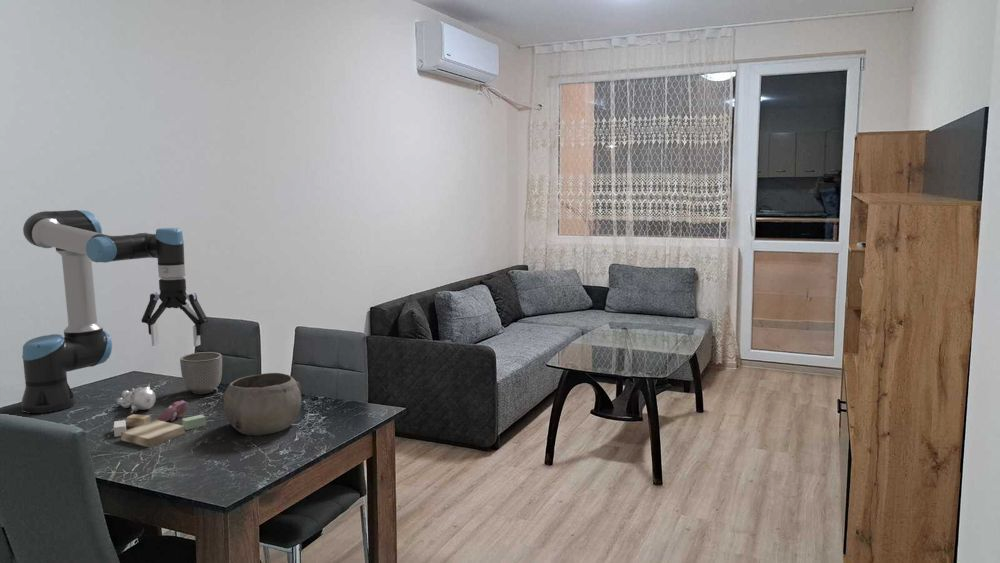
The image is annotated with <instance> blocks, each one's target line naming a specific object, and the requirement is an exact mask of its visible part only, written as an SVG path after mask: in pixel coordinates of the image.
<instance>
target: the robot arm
mask: <svg viewBox="0 0 1000 563" xmlns="http://www.w3.org/2000/svg"><path fill="white" fill-rule="evenodd" d="M24 222H25V223H24V224H23V228H22V231H23V235H24V238H25V239H26V241H27V242H28V243H30V244H31V245H33V246H35V247H39V248H43V249H51V248H55V252H56V253H58V254H59V255H60V256H61V262H62V263H61V264H62V271H63V272H62V273H63V282H64V292H65V293H64V294H65V302H66V313H67V324H68V325H67V326H66V328H64V329H63V335H62V334H57V333H56V334H54V333H53V334H47V335H41V336H37V337H34V338H31V339H29V340H28V341H26V342H25V343H24V344H23V345H22V355H21V356H22V363H23V370H24V373H23V374H24V382H25V388H24V391H23V392H24V393H23V395H22V398H21V402H20V410H23V411H26V412H29V413H41V414H43V413H42V412H50V411H55V412H59V411H58V410H60V411H63V410H62V409H64V410H66V408H67V409H69V408H71V407H73V406H74V405H76V404H75V403H76V401H75V400H76V398H75V394H73V391H72V389H71V387H70V385H69V383H68V377H67V373H68V372H72V371H76V370H80V369H85V368H89V367H95V366H97V365H100V364H103V363H105V362H107V360H108V359H110V356H111V354H112V351H113V350H112V349H113V341H112V338H111V337H110V334H109V333H108V332H107V331H105V330H103V329H104V328H103V327H104V326H102V325H101V324H100V323H98V318H97V317H98V315H97V307H96V306H97V305H96V294H95V288H94V287H95V284H94V274H93V272H94V271H93V265H92V262H93V263H110V262H111V263H112V262H117V261H118V262H119V261H129V260H138V259H139V260H140V259H148V258H149V259H157V270H158V277H159V278H160V279H159V280H158V285H159V286H158V287H159V288H158V289H159V293H158V292H154V293H150V294H149V301H148V304H147V306H146V309H145V311H144V313H143V316H142V319H141V323H144V324H147V327H148V330H147V331H148V335H150V338H151V346H157V345H159V344H160V340H159V339H160V338H159V324H158V323H157V320H159V318H160V317H161V315H162V314H163V313H164V311H166V309H180V310H181V311H183V313H184V314H185V315H186V316H187V317H188V318H189V319H190V320H191V322H193V324H194V325H193V326H192V336H193V347H198V346H201V344H202V343H201V336H202V335H203V325H204V324H206V323H208V322H209V319H208V318H207V315H206V313H205V311H204V310H203V308H202V306H201V304H200V302H199V301H198V296H197V294H196V293H195V292H194V293H190V294H187V292H186V291H187V283H186V282H187V281H186V280H187V279H186V278H185V277H186V266H185V247H184V246H185V245H184V243H185V240H184V235H183V230H182V229H181V228H179V227H162V228H156V230H155V233H147V232H143V233H141V232H140V233H134V234H124V235H109V234H104V233H103V229H102V226H101V222H100V221H99V219H98V218H97V216H96V215H95V214H94V213H92V211H91V212H90V211H88V210H79V209H73V210H71V209H70V210H53V211H50V210H46V211H39V212H36V213H34V214H32V215H30V216H29V217H28V218H27V219H26V221H24ZM159 299H160V301H161V302H160V304H159V306H158V308H157V309H156V310H155V308H156V305H157V303H158V301H159ZM187 300H188V302H189V303H190V304H189V303H188V302H187ZM190 305H191V306H192V307H190ZM154 310H155V311H154ZM153 312H154V313H153ZM29 413H28V414H29ZM50 413H51V412H50Z"/></svg>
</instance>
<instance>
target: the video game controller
mask: <svg viewBox="0 0 1000 563" xmlns="http://www.w3.org/2000/svg"><path fill="white" fill-rule="evenodd" d="M190 404H191V403H189V402H187V401H185V400H183V399H182V400H179V401H174V402H173V403H172V404H171V405H169V406H168V407H166V409H165V410H164V411H163V412H162V413H161V414H160V415H159V416H157V419H156V420H160V421H164V422H167V421H170V422H173V421H175V420H176V419H177V418H178V419H179V418H181V417H182V416H183V415H184V413H185V412H186V411H187V410H188V409H189V408H190Z"/></svg>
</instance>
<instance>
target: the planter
mask: <svg viewBox="0 0 1000 563" xmlns="http://www.w3.org/2000/svg"><path fill="white" fill-rule="evenodd" d="M179 362H180V363H179V364H180V371H181V378H182V383H183V385H184V386H185V388H186V389H187V390H189V391H190V392H192V394H194V395H207V394H211V393H213V392H214V390H215V388H218V386H219V385H220V384H221V381H222V375H223V354H221V353H220V352H215V351H202V352H193V353H188V354H184V355H183V356H181V357H179Z"/></svg>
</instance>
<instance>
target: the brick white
mask: <svg viewBox="0 0 1000 563" xmlns="http://www.w3.org/2000/svg"><path fill="white" fill-rule="evenodd" d="M113 422H114V424H113V435H114V437H121V432H123V431H126V430H127V419H123V420H116V421H113Z"/></svg>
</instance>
